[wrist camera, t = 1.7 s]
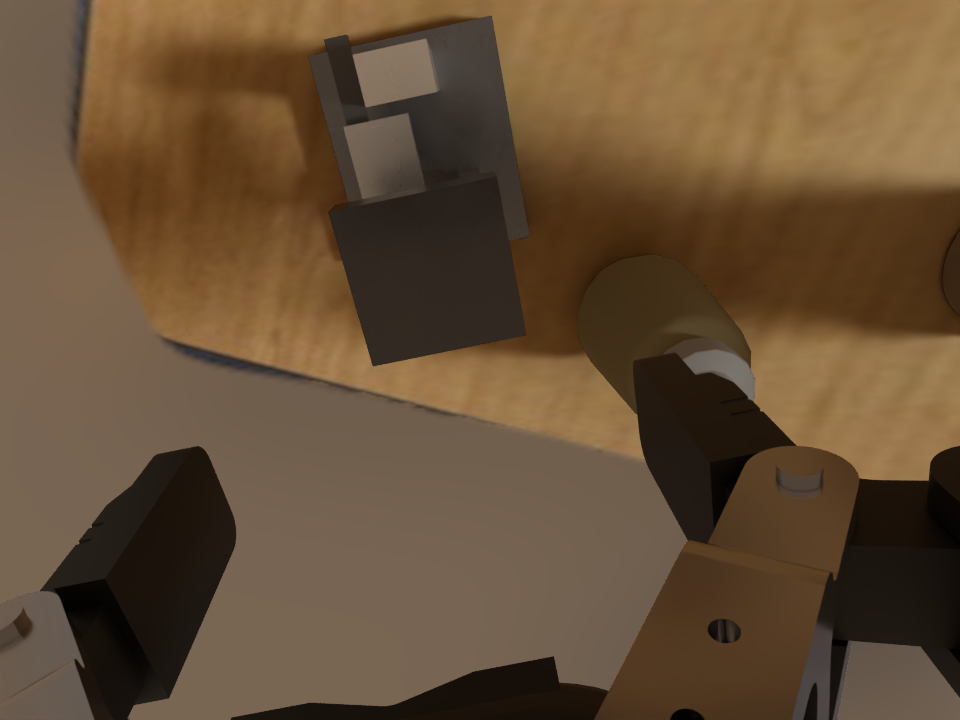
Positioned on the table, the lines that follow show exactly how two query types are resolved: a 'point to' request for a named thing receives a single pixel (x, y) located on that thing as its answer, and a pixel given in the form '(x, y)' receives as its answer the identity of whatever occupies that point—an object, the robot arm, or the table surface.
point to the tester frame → (435, 107)
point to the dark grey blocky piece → (423, 251)
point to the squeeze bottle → (658, 324)
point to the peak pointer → (346, 79)
